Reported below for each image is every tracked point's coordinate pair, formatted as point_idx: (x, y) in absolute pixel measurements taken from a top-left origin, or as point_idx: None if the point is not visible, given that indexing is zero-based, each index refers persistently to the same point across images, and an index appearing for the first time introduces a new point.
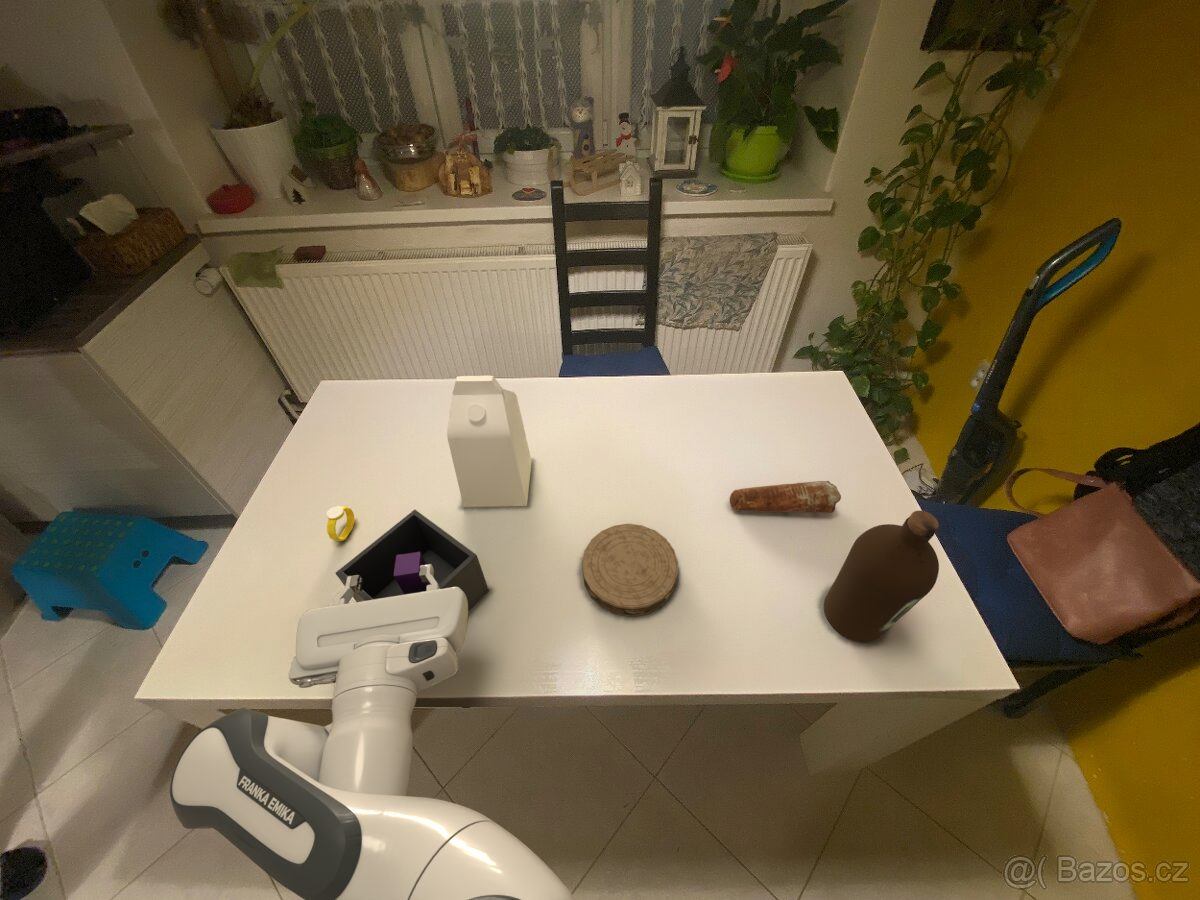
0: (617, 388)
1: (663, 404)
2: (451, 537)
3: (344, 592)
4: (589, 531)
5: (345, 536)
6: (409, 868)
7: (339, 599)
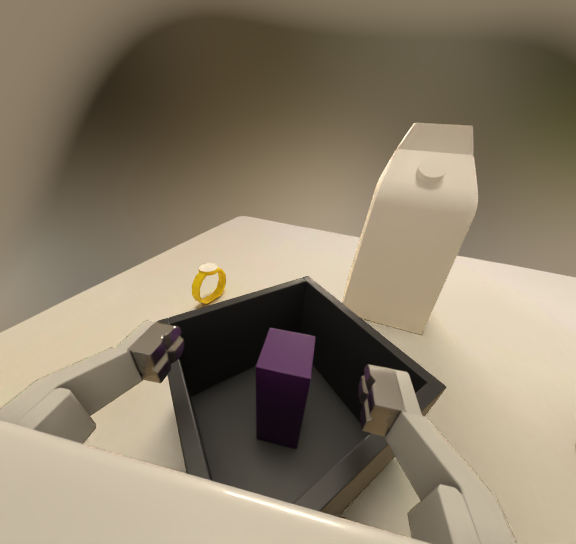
0: (479, 261)
1: (543, 283)
2: (373, 330)
3: (93, 366)
4: (545, 405)
5: (208, 301)
6: None
7: (51, 389)
